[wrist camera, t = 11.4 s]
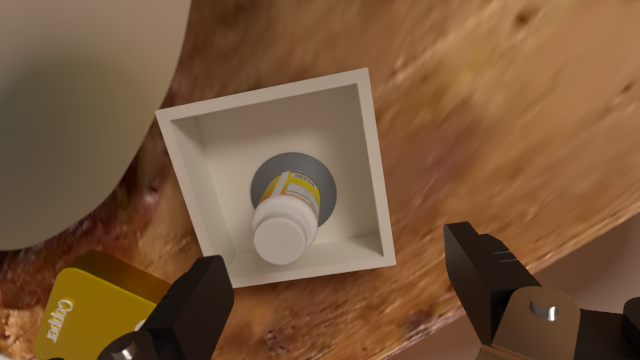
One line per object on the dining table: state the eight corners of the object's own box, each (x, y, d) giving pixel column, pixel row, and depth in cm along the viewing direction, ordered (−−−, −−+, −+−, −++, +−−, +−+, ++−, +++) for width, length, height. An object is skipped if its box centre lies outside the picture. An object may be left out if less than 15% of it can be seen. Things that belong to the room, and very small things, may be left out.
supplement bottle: (273, 221, 36) (250, 277, 26) (263, 172, 34) (234, 212, 24) (324, 216, 35) (320, 271, 26) (317, 165, 34) (310, 204, 24)
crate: (182, 104, 33) (154, 110, 28) (362, 68, 31) (367, 67, 26) (231, 260, 39) (215, 290, 33) (387, 237, 37) (396, 264, 31)
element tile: (88, 241, 39) (56, 264, 35) (205, 296, 41) (189, 325, 36) (56, 330, 44) (23, 361, 39) (163, 377, 45) (144, 411, 41)
